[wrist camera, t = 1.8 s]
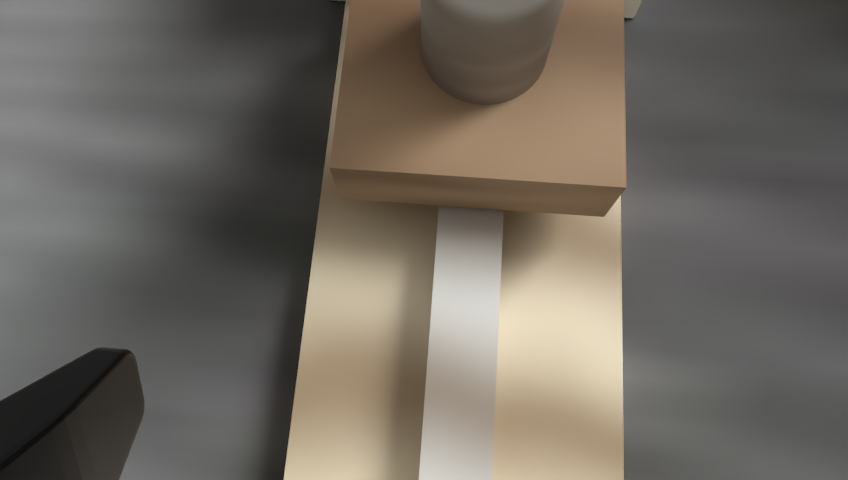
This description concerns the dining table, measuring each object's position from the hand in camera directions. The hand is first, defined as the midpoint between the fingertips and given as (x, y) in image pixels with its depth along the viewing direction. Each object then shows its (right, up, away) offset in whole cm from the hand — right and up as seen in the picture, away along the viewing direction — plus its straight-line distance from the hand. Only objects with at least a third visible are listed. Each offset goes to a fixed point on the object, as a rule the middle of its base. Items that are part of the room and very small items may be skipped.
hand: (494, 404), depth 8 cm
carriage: (+1, +7, +13) cm, 15 cm away
